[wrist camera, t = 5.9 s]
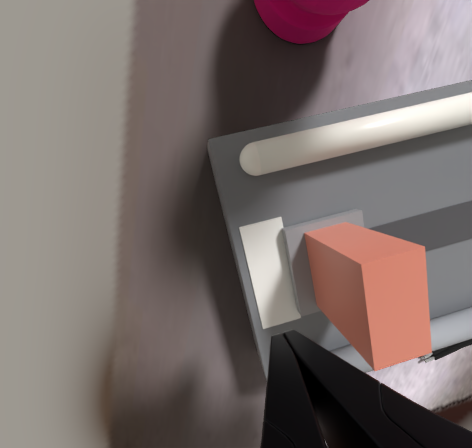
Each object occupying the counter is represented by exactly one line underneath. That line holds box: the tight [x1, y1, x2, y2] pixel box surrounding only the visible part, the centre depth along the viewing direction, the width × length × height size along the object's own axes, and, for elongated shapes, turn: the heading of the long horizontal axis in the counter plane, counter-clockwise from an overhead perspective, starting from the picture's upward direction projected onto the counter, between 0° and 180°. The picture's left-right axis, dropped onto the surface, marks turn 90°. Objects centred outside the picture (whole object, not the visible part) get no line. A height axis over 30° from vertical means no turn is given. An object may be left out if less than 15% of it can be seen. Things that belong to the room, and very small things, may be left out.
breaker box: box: [207, 80, 472, 382], centre depth 16 cm, size 18×16×6 cm
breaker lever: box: [281, 209, 432, 371], centre depth 11 cm, size 4×5×5 cm
